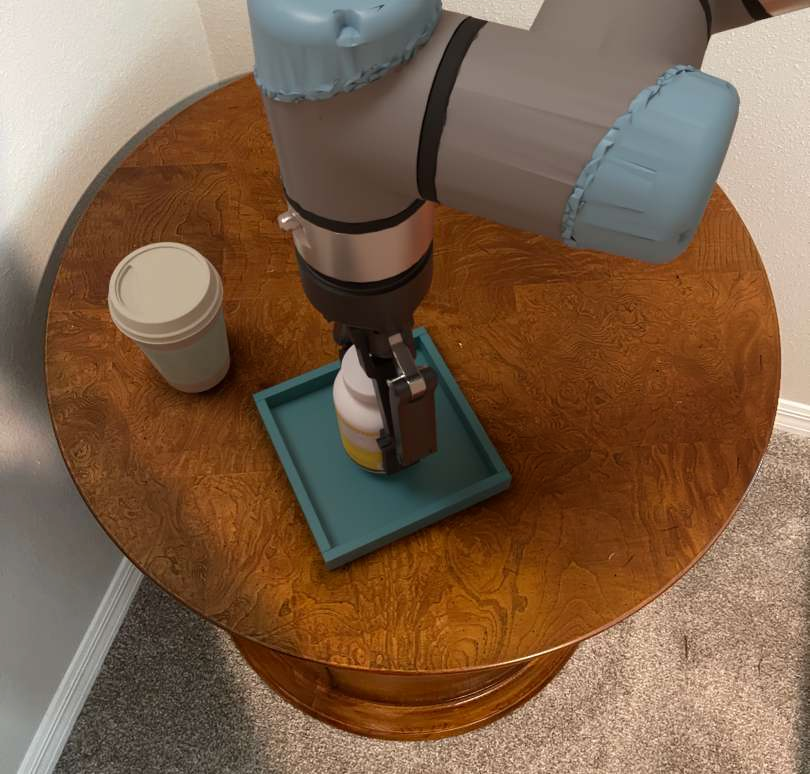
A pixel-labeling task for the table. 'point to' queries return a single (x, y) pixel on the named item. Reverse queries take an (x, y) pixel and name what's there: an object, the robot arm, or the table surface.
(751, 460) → the table surface
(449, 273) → the table surface
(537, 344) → the table surface
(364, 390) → the pill bottle
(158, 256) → the coffee cup
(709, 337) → the table surface
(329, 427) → the tray
